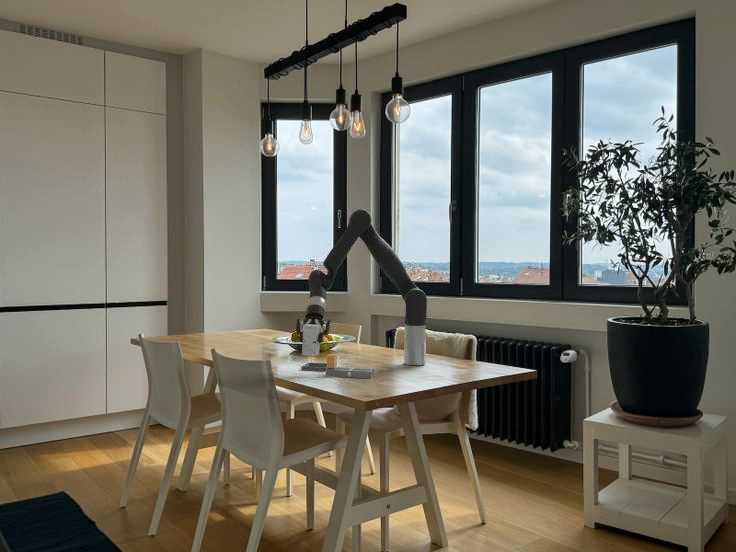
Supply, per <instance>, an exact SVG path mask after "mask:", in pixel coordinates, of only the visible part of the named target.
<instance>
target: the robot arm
mask: <svg viewBox="0 0 736 552" xmlns="http://www.w3.org/2000/svg"><path fill="white" fill-rule="evenodd" d="M371 215H372V214H370V212H369V211H368V210H366V209H356V210H354V212H352V213H351V215H350V216H349V219H348V222H349V223H348V225H347V226H346V229H345V230H344V232H343V234H342V235H341V237H340V238H339V239H338V240H337V242H336V243H335V244H334V245H333V247H332V248H331V250H330V251H329V253H327V256H326V257H325V259H324V260H323V262H322V265H323V266H324V268H325V269H326V273H325V272H323V271H321V270H320V269H314V270H311V272H310V273H309V276H308V280H307V281H308V282H307V283H308V289H309V297H308V298H309V299H308V302H307V305H306V311H305V317H304V319H303V320H301V319H300V318H297V319H296V326H295V331H296V334H297V335H299V337H298V339H299V342H300V343H303V327H302V325H306V324H311V325H320V334H319V343H320V344H322V342H323V341H324V336H329V334H330V329H331V320H330V319H328V320H324V318H325V313H326V303H327V292H328V291H329V290H330V289H331V288H332V287H333V284H334V280H335V277H336V276H337V272H338V270H339V268H340V267H341V266H342V264H343V262H344V261H345V259H346V257H347V256H348V254H349V252H350V251H351V249H352V248H353V246H354V244H355V243H356V241H358V238H360V240H361V241H362V242H363V243H364V244H365V246H366V248H367V250H368V251H369V253H370V254H371V256H372V258H373V259H374V261H375V263H377V265H378V267H379V268H380V270H381V271H382V272H383V273H384V274H385V276H386V277H387V278H388V279H389V281H391V282H392V284H393V285H394V286H395V287H396V288H397V290H398V293H400V296H401V297H402V299H403V302H404V303H405V316H404V337H403V338H404V343H403V344H404V349H403V351H404V352H403V360H404V361H403V363H404V364H405V365H407V366H409V365H410V366H425V365H426V363H427V342H426V327H427V326H426V325H427V324H426V321H427V311H428V310H427V308H428V299H427V294H426V293H425V291H423V290H422V289H420V288H419V287H418V286H417V285H416V283H415V282H413V280H412V279H411V278H410V276H409V274H408V272H407V271H406V268H405V266H404V264H403V262H402V260H401V258H400V257H399V256H398V254H397V253H396V251H395V250H394V249H393V248H392V246H390V244H389V243H387V242H386V240H384V238H382V237H381V236H380V234H379V233H378V231H377V230H376V229H375V227H374V226H373V224H372V216H371ZM323 326H324V327H325V328H324V330H323ZM301 327H302V328H301Z"/></svg>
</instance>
